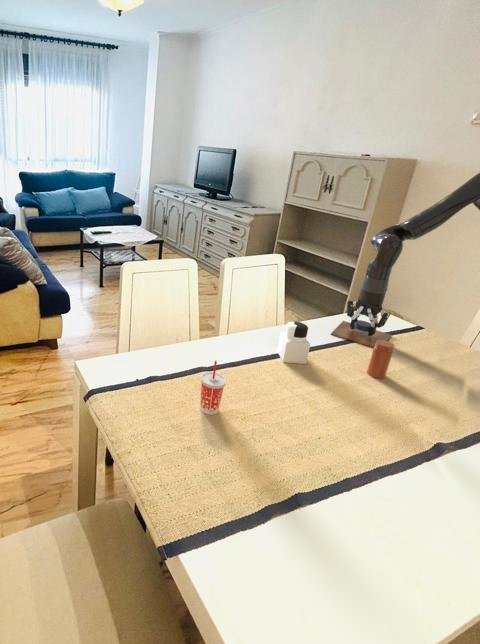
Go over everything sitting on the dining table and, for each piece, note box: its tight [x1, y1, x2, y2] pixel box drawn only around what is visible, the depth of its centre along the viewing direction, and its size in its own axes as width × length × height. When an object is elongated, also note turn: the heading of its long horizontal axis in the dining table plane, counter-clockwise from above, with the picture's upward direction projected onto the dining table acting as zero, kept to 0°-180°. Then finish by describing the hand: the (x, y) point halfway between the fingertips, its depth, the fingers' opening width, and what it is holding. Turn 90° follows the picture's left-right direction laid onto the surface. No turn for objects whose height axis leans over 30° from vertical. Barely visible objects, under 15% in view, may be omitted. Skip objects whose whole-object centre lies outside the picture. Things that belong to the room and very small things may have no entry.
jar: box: [366, 340, 395, 380], centre depth 114 cm, size 5×5×11 cm
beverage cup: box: [199, 360, 227, 416], centre depth 95 cm, size 6×6×14 cm
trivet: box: [330, 320, 391, 349], centre depth 141 cm, size 16×16×1 cm
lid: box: [354, 319, 371, 332], centre depth 140 cm, size 6×6×2 cm
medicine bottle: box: [276, 321, 311, 365], centre depth 122 cm, size 7×7×12 cm
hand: (361, 331), depth 141 cm, fingers closed on lid, 5 cm apart
